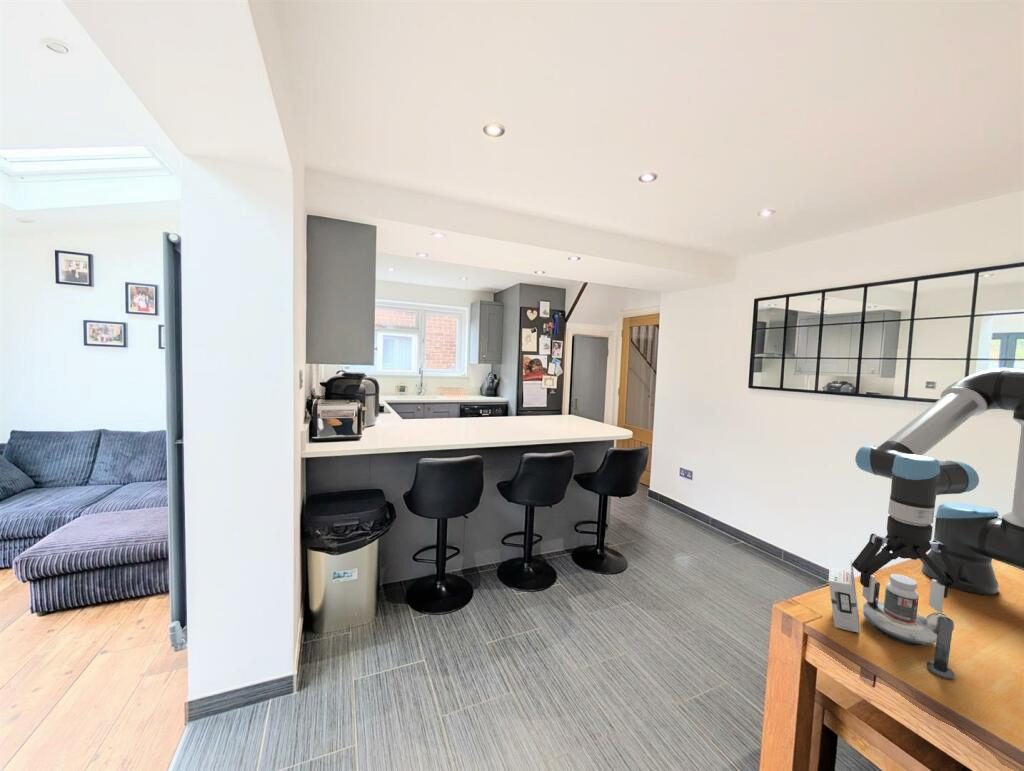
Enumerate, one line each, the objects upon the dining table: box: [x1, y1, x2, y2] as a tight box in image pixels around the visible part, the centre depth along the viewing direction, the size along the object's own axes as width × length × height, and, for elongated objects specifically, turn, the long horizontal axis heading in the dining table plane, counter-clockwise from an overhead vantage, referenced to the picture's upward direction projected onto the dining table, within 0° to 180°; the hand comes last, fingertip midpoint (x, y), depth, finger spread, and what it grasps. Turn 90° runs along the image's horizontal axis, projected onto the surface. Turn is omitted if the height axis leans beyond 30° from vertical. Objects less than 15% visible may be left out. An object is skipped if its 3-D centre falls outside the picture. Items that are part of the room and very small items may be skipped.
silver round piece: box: [862, 580, 937, 645], centre depth 95 cm, size 13×13×8 cm
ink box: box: [828, 559, 861, 633], centre depth 98 cm, size 8×5×15 cm, turn 140°
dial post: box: [925, 612, 955, 681], centre depth 83 cm, size 4×4×12 cm
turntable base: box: [872, 624, 924, 647], centre depth 95 cm, size 9×9×2 cm
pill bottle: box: [883, 573, 920, 625], centre depth 95 cm, size 6×6×10 cm
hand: (900, 603), depth 95 cm, fingers open, 13 cm apart
